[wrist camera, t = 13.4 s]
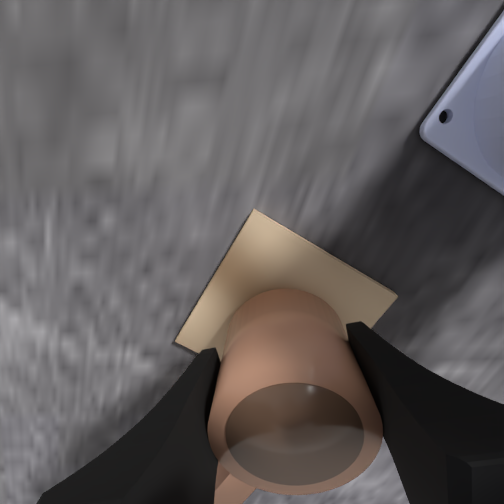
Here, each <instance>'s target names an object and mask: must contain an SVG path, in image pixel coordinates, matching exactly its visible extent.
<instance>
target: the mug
mask: <svg viewBox="0 0 504 504" xmlns="http://www.w3.org/2000/svg"><path fill="white" fill-rule="evenodd" d="M382 438H383V424H382V420H381V416H380V413H379V411H378V409H377V406H376V404H375V401H374V399H373V397H372V394H371V392H370V389H369V387H368V385H367V382H366V380H365V378H364V375H363V373H362V371H361V368H360V366H359V364H358V362H357V360H356V358H355V355H354V353H353V350H352V348H351V346H350V343H349V341H348V337H347V334H346V332H345V330H344V327H343V325H342V323H341V320H340V318H339V316H338V315H337V313H336V312H335V310H334V309H333V308H332V307H331V306H330V305H329V304H328V303H327V302H325V301H324V300H322V299H321V298H319V297H318V296H316V295H313V294H311V293H308V292H305V291H301V290H297V289H276V290H270V291H266V292H263V293H261V294H258V295H256V296H254V297H252V298H251V299H249V300H248V301H246V302H245V303H244V304H243V305H242V306H241V307H240V308H239V309H238V310H237V311H236V313H235V314H234V316H233V317H232V319H231V321H230V324H229V327H228V331H227V336H226V341H225V345H224V350H223V355H222V360H221V364H220V369H219V374H218V378H217V383H216V388H215V393H214V397H213V402H212V407H211V411H210V416H209V421H208V439H209V443H210V446H211V449H212V451H213V453H214V455H215V457H216V458H217V460H218V467H217V475H216V484H215V497H214V504H242V503H243V502H244V501H245V500H246V499H247V498H248V497H249V496H250V495H251V493H252V492H253V491H254V490H255V489H256V488H258V489H261V490H264V491H267V492H272V493H277V494H286V495H307V494H315V493H321V492H325V491H328V490H332V489H334V488H337V487H340V486H342V485H344V484H346V483H348V482H350V481H351V480H353V479H355V478H356V477H358V476H359V475H360V474H361V473H363V472H364V471H365V470H366V469H367V468H368V467H369V466H370V464H371V463H372V462H373V460H374V459H375V457H376V456H377V454H378V452H379V450H380V446H381V443H382Z"/></svg>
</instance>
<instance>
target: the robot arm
mask: <svg viewBox="0 0 504 504" xmlns="http://www.w3.org/2000/svg"><path fill="white" fill-rule="evenodd" d="M442 111H445V112H446V113H447V119H446V121H445V122H444V123H441V122H440V121H439V115H440V113H441V112H442ZM419 133H420V136H421V138H422V139H423V140H424V141H425V142H427V143H428V144H430V145H431V146H432V147H434V148H435V149H437V150H438V151H440V152H441V153H443V154H444V155H445V156H447V157H448V158H450V159H451V160H453V161H454V162H456V163H457V164H459V165H460V166H461V167H463V168H464V169H466V170H467V171H469V172H470V173H472V174H473V175H474V176H476V177H477V178H479V179H480V180H482V181H483V182H485V183H486V184H488V185H489V186H490V187H492V188H493V189H495V190H496V191H498V192H499V193H501V194H502V195H503V196H504V10H503V12H502V13H501V15H500V16H499V17H498V19H497V20H496V22H495V23H494V24H493V26H492V27H491V28H490V30H489V31H488V33H487V34H486V35H485V37H484V38H483V39H482V41H481V42H480V44H479V45H478V46H477V48H476V49H475V51H474V52H473V53H472V55H471V56H470V57H469V59H468V60H467V62H466V63H465V64H464V66H463V67H462V68H461V70H460V71H459V73H458V74H457V75H456V77H455V78H454V80H453V81H452V82H451V84H450V85H449V86H448V88H447V89H446V91H445V92H444V93H443V95H442V96H441V97H440V99H439V100H438V102H437V103H436V104H435V106H434V107H433V109H432V110H431V111H430V113H429V114H428V115H427V117H426V118H425V120H424V121H423V122H422V124H421V126H420V132H419ZM346 329H347V335H348V341H349V343H350V346H351V348H352V350H353V353H354V355H355V358H356V360H357V362H358V364H359V366H360V368H361V371H362V373H363V375H364V378H365V380H366V382H367V385H368V387H369V389H370V392H371V394H372V397H373V399H374V401H375V404H376V406H377V409H378V411H379V413H380V416H381V420H382V424H383V437H384V439H385V441H386V443H387V446H388V448H389V450H390V453H391V455H392V457H393V460H394V463H395V465H396V468H397V471H398V473H399V476H400V479H401V481H402V484H403V487H404V489H405V492H406V495H407V498H408V500H409V503H410V504H504V404H501V403H498V402H496V401H493V400H490V399H488V398H486V397H483V396H481V395H478V394H476V393H474V392H472V391H469V390H467V389H465V388H463V387H461V386H459V385H456V384H454V383H452V382H450V381H448V380H446V379H444V378H442V377H441V376H439V375H437V374H435V373H433V372H431V371H430V370H428V369H426V368H424V367H423V366H421V365H419V364H418V363H416V362H415V361H413V360H412V359H410V358H409V357H407V356H406V355H404V354H403V353H401V352H400V351H399V350H397V349H396V348H395V347H393V346H392V345H390V344H389V343H388V342H387V341H385V340H384V339H383V338H381V337H380V336H379V335H378V334H376V333H375V332H374V331H373V330H372V329H370V328H369V327H368V326H367V325H366V324H365V323H363V322H362V321H359V322H353V323H347V324H346ZM220 364H221V361H220V358H219V355H218V352H217V349H216V347H214V348H209V349H203V350H201V352H200V353H199V354H198V355H197V357H196V358H195V359H194V360H193V362H192V363H191V364H190V366H189V367H188V368H187V369H186V371H185V372H184V373H183V374H182V376H181V377H180V378H179V379H178V381H177V382H176V383H175V384H174V386H173V387H172V388H171V389H170V390H169V391H168V392H167V393H166V395H165V396H164V397H163V398H162V399H161V400H160V401H159V403H158V404H157V405H156V406H155V407H154V408H153V409H152V410H151V411H150V412H149V413H148V414H147V415H146V416H145V417H144V418H143V419H142V420H141V421H140V422H139V423H138V424H137V425H135V426H134V427H133V428H132V429H131V430H130V431H129V432H127V433H126V434H125V435H124V436H123V437H122V438H120V439H119V440H118V441H117V442H116V443H114V444H113V445H112V446H111V447H110V448H108V449H107V450H106V451H104V452H103V453H102V454H101V455H99V456H98V457H97V458H95V459H94V460H92V461H91V462H90V463H88V464H87V465H86V466H84V467H83V468H81V469H80V470H78V471H77V472H75V473H74V474H72V475H71V476H69V477H68V478H66V479H65V480H63V481H62V482H60V483H59V484H57V485H55V486H54V487H52V488H51V489H49V490H48V491H46V492H44V493H43V494H42V496H41V497H40V499H39V501H38V502H37V504H214V497H215V484H216V475H217V467H218V460H217V458H216V457H215V455H214V453H213V451H212V449H211V446H210V443H209V439H208V421H209V416H210V411H211V407H212V402H213V397H214V393H215V388H216V383H217V378H218V374H219V369H220Z"/></svg>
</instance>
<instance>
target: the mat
mask: <svg viewBox="0 0 504 504" xmlns="http://www.w3.org/2000/svg"><path fill="white" fill-rule="evenodd" d="M276 289H297V290H301V291H305V292H308V293H311V294H313V295H316V296H318V297H319V298H321V299H322V300H324V301H325V302H327V303H328V304H329V305H330V306H331V307H332V308H333V309H334V310H335V312H336V313H337V315H338V316H339V318H340V320H341V323H342V325H343V327H344V330H345V332H346V334H347V329H346V324H347V323H353V322H359V321H362V322H363V323H365V324H366V325H367V326H368V327H369V328H370V329H371V328H372V327H373V325H374V324H375V323H376V322H377V321H378V320H379V318H380V317H381V316H382V315H383V314H384V313H385V311H386V310H387V309H388V308H389V307H390V306H391V304H392V303H393V302H394V301H395V300H396V299H397V297H398V296H397V295H396V293H395V292H394V291H392V290H390V289H388V288H387V287H385V286H383V285H382V284H380V283H378V282H377V281H375V280H373V279H372V278H370V277H368V276H367V275H365V274H363V273H361V272H360V271H358V270H356V269H355V268H353V267H351V266H350V265H348V264H346V263H345V262H343V261H341V260H340V259H338V258H336V257H334V256H333V255H331V254H329V253H328V252H326V251H324V250H323V249H321V248H319V247H318V246H316V245H314V244H313V243H311V242H309V241H308V240H306V239H304V238H302V237H301V236H299V235H297V234H296V233H294V232H292V231H291V230H289V229H287V228H286V227H284V226H282V225H281V224H279V223H277V222H275V221H274V220H272V219H270V218H269V217H267V216H265V215H264V214H262V213H260V212H259V211H257V210H255V209H253V210H252V212H251V214H250V215H249V217H248V219H247V220H246V222H245V224H244V225H243V227H242V229H241V230H240V232H239V234H238V235H237V237H236V239H235V240H234V242H233V244H232V245H231V247H230V249H229V250H228V252H227V254H226V256H225V257H224V259H223V261H222V262H221V264H220V266H219V267H218V269H217V271H216V272H215V274H214V276H213V277H212V279H211V281H210V282H209V284H208V286H207V287H206V289H205V291H204V292H203V294H202V296H201V297H200V299H199V301H198V302H197V304H196V306H195V307H194V309H193V311H192V312H191V314H190V316H189V317H188V319H187V321H186V322H185V324H184V326H183V327H182V329H181V331H180V332H179V334H178V336H177V338H176V340H175V342H177V343H179V344H181V345H183V346H185V347H187V348H189V349H191V350H193V351H195V352H197V353H200V352H201V350H203V349H209V348H214V347H216V349H217V352H218V355H219V358H220V361H221V360H222V355H223V350H224V345H225V341H226V336H227V331H228V327H229V324H230V321H231V319H232V317H233V316H234V314H235V313H236V311H237V310H238V309H239V308H240V307H241V306H242V305H243V304H244V303H245V302H246V301H248V300H249V299H251V298H252V297H254V296H256V295H258V294H261V293H263V292H266V291H270V290H276ZM347 337H348V335H347Z"/></svg>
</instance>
